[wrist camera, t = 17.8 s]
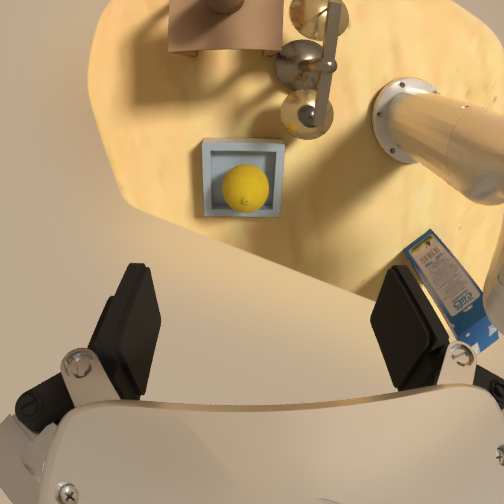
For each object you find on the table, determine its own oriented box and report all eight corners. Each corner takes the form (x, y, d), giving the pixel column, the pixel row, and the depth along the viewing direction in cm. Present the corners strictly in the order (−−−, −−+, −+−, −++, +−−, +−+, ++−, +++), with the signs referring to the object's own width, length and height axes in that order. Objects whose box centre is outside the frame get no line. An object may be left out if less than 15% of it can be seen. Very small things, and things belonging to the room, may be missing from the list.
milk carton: (445, 262, 49) (498, 338, 33) (421, 280, 52) (467, 361, 35) (430, 228, 45) (494, 308, 29) (402, 249, 47) (458, 336, 31)
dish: (282, 139, 37) (285, 144, 35) (277, 208, 43) (279, 217, 41) (204, 137, 37) (201, 142, 35) (206, 207, 43) (204, 216, 40)
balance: (333, 7, 27) (375, -16, 16) (324, 133, 37) (360, 165, 26) (277, 0, 27) (294, -32, 16) (271, 129, 37) (284, 159, 25)
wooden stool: (273, -14, 25) (293, -62, 12) (271, 56, 31) (289, 46, 18) (190, -14, 25) (158, -58, 12) (188, 56, 31) (152, 48, 18)
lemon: (248, 203, 41) (249, 233, 35) (215, 179, 39) (210, 205, 33) (275, 173, 39) (282, 198, 32) (242, 147, 37) (242, 167, 30)
